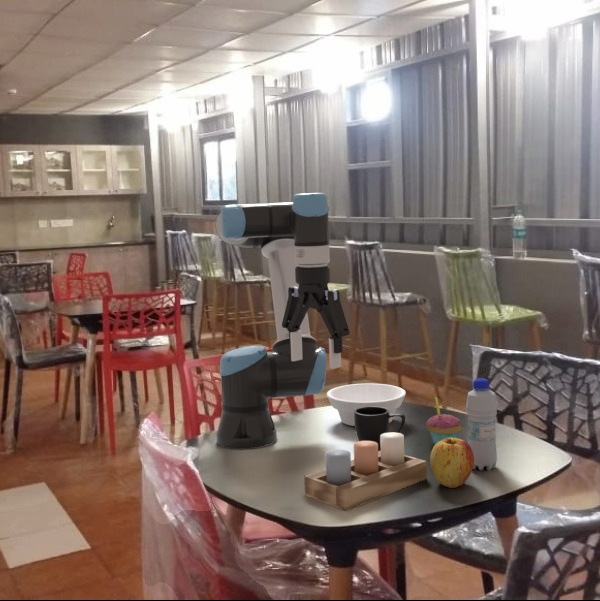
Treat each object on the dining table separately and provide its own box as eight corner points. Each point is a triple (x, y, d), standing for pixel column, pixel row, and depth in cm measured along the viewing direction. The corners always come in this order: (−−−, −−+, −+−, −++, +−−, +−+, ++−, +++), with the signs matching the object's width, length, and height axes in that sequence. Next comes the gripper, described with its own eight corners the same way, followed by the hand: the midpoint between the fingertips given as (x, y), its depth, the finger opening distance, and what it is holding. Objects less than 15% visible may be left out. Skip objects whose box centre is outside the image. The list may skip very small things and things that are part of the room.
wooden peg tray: (304, 495, 168) (304, 476, 168) (385, 466, 184) (384, 449, 183) (346, 510, 159) (345, 490, 159) (426, 479, 175) (426, 460, 174)
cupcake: (422, 447, 197) (421, 398, 195) (430, 436, 205) (430, 389, 203) (458, 450, 194) (457, 400, 192) (465, 439, 201) (464, 391, 200)
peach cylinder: (349, 472, 172) (348, 444, 171) (366, 466, 175) (365, 439, 174) (366, 478, 168) (366, 449, 167) (383, 471, 171) (382, 444, 170)
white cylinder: (376, 463, 177) (375, 436, 176) (391, 457, 180) (391, 431, 179) (393, 468, 173) (392, 440, 172) (409, 462, 176) (408, 435, 175)
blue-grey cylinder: (321, 482, 166) (320, 453, 166) (339, 476, 170) (338, 447, 169) (338, 488, 163) (337, 459, 162) (356, 481, 166) (355, 453, 165)
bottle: (480, 474, 177) (479, 383, 174) (460, 465, 183) (459, 377, 180) (504, 468, 180) (503, 379, 177) (484, 460, 186) (483, 373, 183)
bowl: (318, 416, 228) (317, 387, 227) (390, 408, 233) (389, 380, 231) (340, 437, 207) (339, 405, 206) (418, 428, 212) (418, 397, 211)
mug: (402, 456, 190) (401, 416, 189) (351, 453, 194) (350, 414, 192) (408, 445, 198) (407, 407, 197) (359, 443, 202) (358, 405, 200)
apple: (481, 490, 168) (481, 442, 166) (439, 494, 166) (439, 446, 165) (463, 475, 177) (463, 430, 175) (423, 480, 175) (422, 434, 173)
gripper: (263, 264, 183) (267, 359, 186) (339, 269, 166) (342, 374, 169) (288, 261, 188) (292, 354, 191) (364, 266, 171) (367, 368, 173)
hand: (315, 364), depth 180 cm, fingers open, 12 cm apart
